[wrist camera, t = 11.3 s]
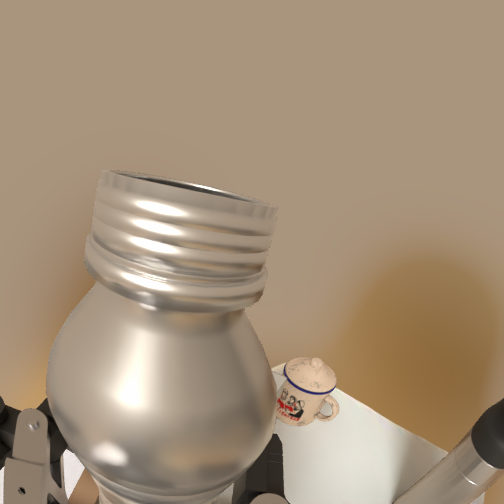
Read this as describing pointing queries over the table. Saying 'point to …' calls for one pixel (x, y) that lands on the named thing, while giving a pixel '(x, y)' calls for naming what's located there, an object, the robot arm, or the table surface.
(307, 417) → the teacup with lid
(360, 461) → the table surface
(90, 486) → the wooden plank
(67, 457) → the table surface
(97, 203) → the silver bottle
